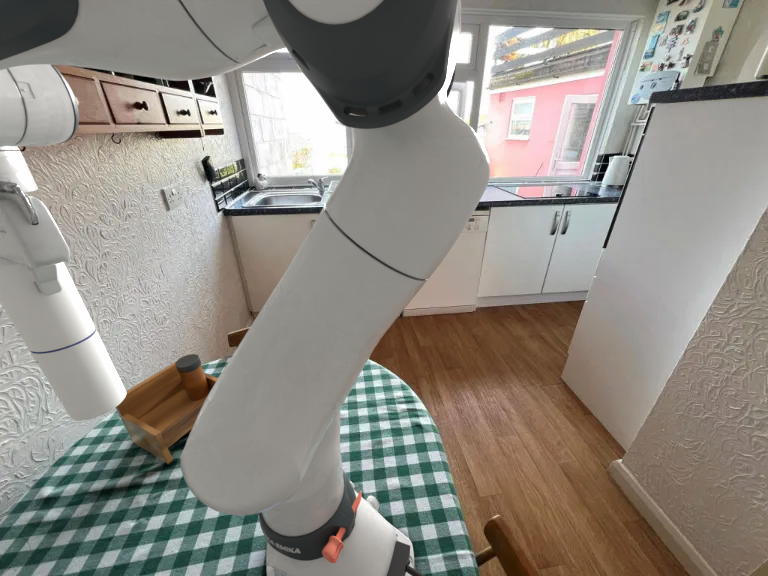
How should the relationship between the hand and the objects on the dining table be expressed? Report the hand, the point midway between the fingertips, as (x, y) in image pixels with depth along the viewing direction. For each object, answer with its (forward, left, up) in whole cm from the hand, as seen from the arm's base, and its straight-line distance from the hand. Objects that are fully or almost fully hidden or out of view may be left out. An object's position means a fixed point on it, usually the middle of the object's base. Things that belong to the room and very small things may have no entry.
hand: (36, 287), depth 42 cm
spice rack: (+4, -12, -40) cm, 42 cm away
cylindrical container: (0, 0, -21) cm, 21 cm away
